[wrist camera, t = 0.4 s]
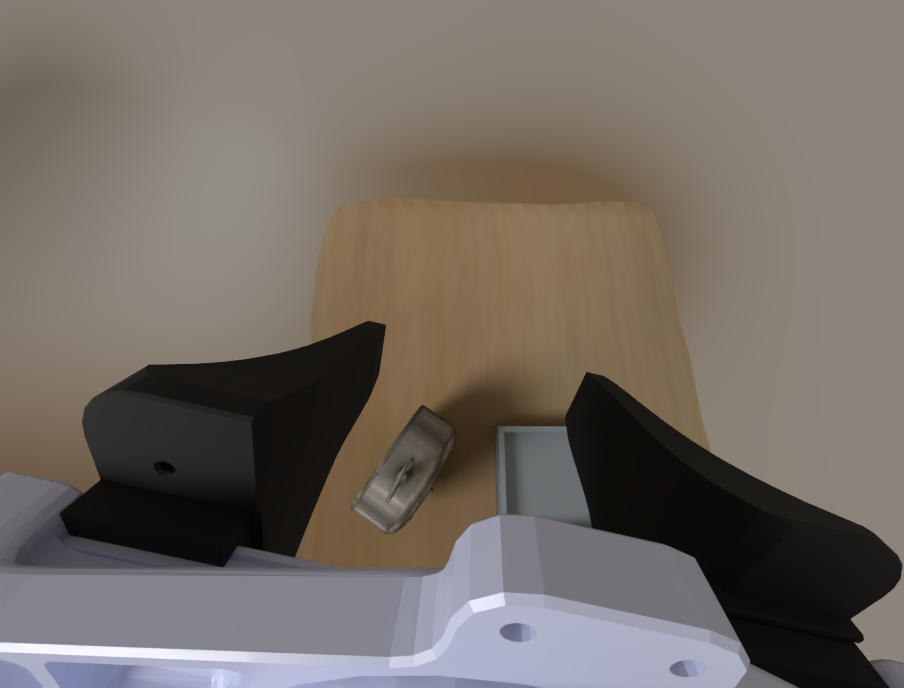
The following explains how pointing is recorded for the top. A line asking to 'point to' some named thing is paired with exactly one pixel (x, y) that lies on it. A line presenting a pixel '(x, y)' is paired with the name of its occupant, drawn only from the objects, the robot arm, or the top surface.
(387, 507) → the alarm clock
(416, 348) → the top surface
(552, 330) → the top surface
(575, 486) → the tray
